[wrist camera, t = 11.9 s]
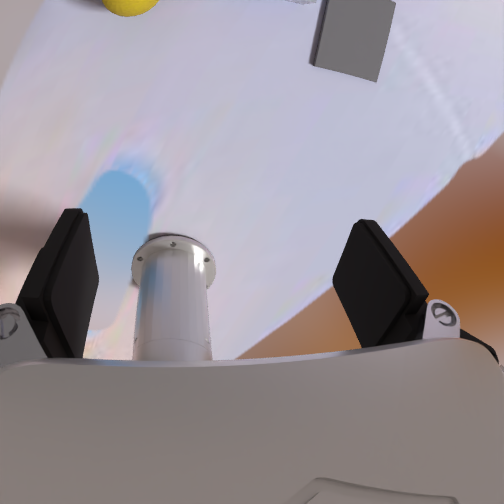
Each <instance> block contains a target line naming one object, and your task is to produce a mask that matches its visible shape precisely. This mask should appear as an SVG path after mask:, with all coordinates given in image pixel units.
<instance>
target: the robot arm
mask: <svg viewBox="0 0 504 504" xmlns="http://www.w3.org/2000/svg"><path fill="white" fill-rule="evenodd" d="M131 270H132V276H133V278H134V281H135V282H136V283H137V285H138V286H139V294H138V302H137V311H136V321H135V332H134V343H133V357H132V360H103V359H84V358H83V352H84V347H85V341H86V336H87V331H88V327H89V322H90V317H91V313H92V308H93V304H94V299H95V296H96V292H97V288H98V283H99V275H98V270H97V265H96V260H95V255H94V249H93V243H92V238H91V232H90V225H89V219H88V214H87V213H83V211H82V209H81V208H73V209H65V210H64V211H63V213H62V215H61V217H60V218H59V220H58V222H57V224H56V225H55V227H54V229H53V231H52V233H51V235H50V236H49V238H48V240H47V242H46V244H45V246H44V247H43V248H41V250H40V251H39V253H38V255H37V257H36V259H35V261H34V263H33V265H32V267H31V269H30V271H29V274H28V276H27V278H26V280H25V282H24V285H23V287H22V289H21V291H20V294H19V296H18V298H17V301H16V303H15V304H12V303H6V304H2V305H0V504H504V367H503V366H502V365H500V366H499V361H498V357H497V355H496V352H495V350H494V349H493V348H492V347H491V346H489V345H487V344H486V343H484V342H482V341H481V340H479V339H477V338H476V337H474V336H472V335H470V334H469V333H467V332H465V331H464V330H462V329H460V320H459V317H458V314H457V313H456V311H455V310H454V309H453V308H452V307H451V306H450V305H449V304H447V303H446V302H444V301H441V300H432V301H430V302H429V303H428V304H427V303H426V301H425V300H426V298H427V297H428V295H429V293H428V292H427V290H426V289H425V287H424V286H423V284H422V283H421V282H420V280H419V279H418V277H417V276H416V274H415V273H414V272H413V270H412V269H411V267H410V266H409V265H408V263H407V262H406V260H405V259H404V258H403V257H402V255H401V254H400V253H399V251H398V250H397V248H396V247H395V246H394V244H393V243H392V242H391V240H390V239H389V238H388V237H387V235H386V234H385V233H384V231H383V230H382V229H381V228H380V226H379V225H378V224H377V222H376V221H374V220H366V219H360V220H359V221H358V222H357V223H355V224H354V225H353V227H352V230H351V232H350V235H349V238H348V240H347V243H346V245H345V248H344V251H343V253H342V256H341V258H340V261H339V263H338V266H337V268H336V270H335V273H334V275H333V286H334V288H335V290H336V292H337V294H338V297H339V299H340V301H341V303H342V305H343V307H344V309H345V311H346V314H347V316H348V318H349V320H350V322H351V325H352V327H353V329H354V331H355V333H356V336H357V338H358V340H359V342H360V344H361V347H362V348H361V349H354V350H346V351H337V352H329V353H319V354H310V355H299V356H287V357H275V358H260V359H243V360H242V359H241V360H215V361H213V358H212V348H211V337H210V326H209V314H208V301H207V289H208V288H209V287H210V286H211V285H212V283H213V281H214V279H215V275H216V265H215V260H214V258H213V256H212V254H211V253H210V251H209V250H208V249H207V248H206V247H205V246H203V245H202V244H200V243H199V242H197V241H195V240H192V239H190V238H186V237H182V236H162V237H159V238H155V239H152V240H150V241H148V242H146V243H145V244H144V245H142V246H141V247H140V248H139V249H138V250H137V252H136V253H135V255H134V257H133V262H132V268H131Z"/></svg>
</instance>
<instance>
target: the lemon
mask: <svg viewBox="0 0 504 504" xmlns="http://www.w3.org/2000/svg"><path fill="white" fill-rule="evenodd" d="M158 1H159V0H102V2H103V4H104V5H105V7H106V8H107V9H108V10H109V11H111V12H112V13H114V14H116V15H119V16H125V17H129V16H136V15H140V14H143V13H145V12H146V11H148V10H150V9H151V8H152V7H153V6H155V5H156V3H157V2H158Z"/></svg>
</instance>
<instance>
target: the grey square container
mask: <svg viewBox="0 0 504 504" xmlns="http://www.w3.org/2000/svg"><path fill="white" fill-rule="evenodd" d="M286 1H291V2H295V3H300V4H310V3H316V0H286Z"/></svg>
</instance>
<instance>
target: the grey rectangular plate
mask: <svg viewBox="0 0 504 504" xmlns="http://www.w3.org/2000/svg"><path fill="white" fill-rule="evenodd" d="M395 5H396V3H395V2H393V1H390V0H327V4H326V9H325V13H324V18H323V23H322V27H321V32H320V37H319V41H318V46H317V51H316V55H315V60H314V64H313V66H316V67H320V68H325V69H329V70H333V71H337V72H341V73H345V74H349V75H352V76H356V77H360V78H363V79H366V80H370V81H373V82H377V79H378V75H379V71H380V68H381V64H382V60H383V56H384V52H385V48H386V44H387V40H388V36H389V32H390V27H391V23H392V19H393V14H394V10H395Z"/></svg>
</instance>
